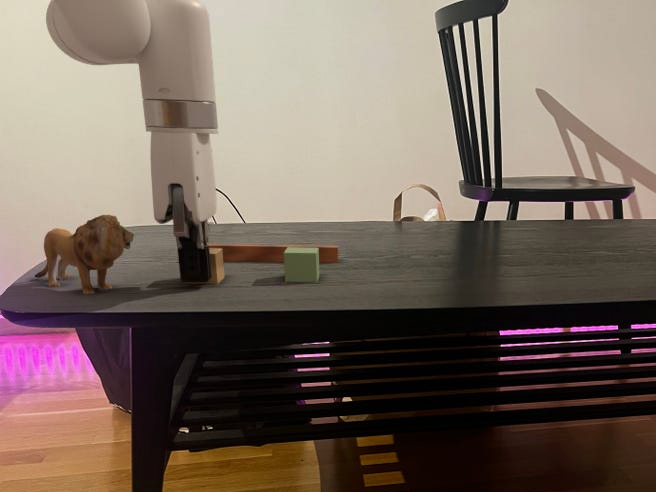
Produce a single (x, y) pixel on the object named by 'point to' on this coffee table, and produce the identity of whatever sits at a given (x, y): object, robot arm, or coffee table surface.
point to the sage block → (301, 264)
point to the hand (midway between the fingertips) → (196, 280)
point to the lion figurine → (86, 250)
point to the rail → (270, 252)
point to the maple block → (214, 267)
